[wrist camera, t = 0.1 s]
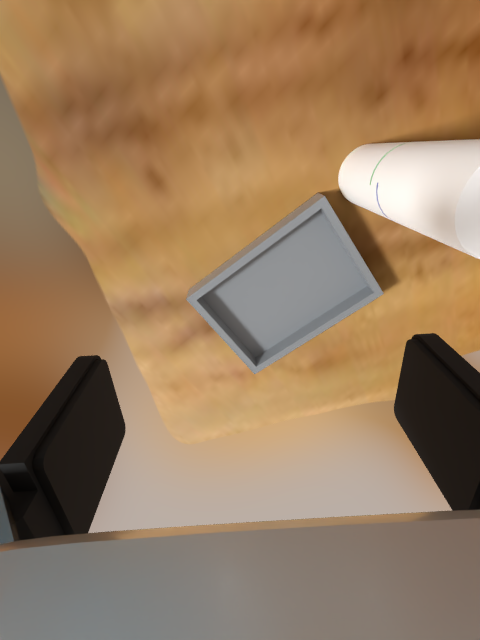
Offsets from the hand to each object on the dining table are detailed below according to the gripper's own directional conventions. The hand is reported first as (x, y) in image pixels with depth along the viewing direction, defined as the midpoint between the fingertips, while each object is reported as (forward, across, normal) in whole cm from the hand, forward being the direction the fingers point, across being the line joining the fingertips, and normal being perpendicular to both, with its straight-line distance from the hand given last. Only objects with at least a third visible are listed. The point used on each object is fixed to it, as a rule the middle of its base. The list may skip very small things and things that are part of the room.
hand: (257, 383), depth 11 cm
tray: (+37, -6, +12) cm, 40 cm away
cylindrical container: (+38, -16, -3) cm, 41 cm away
